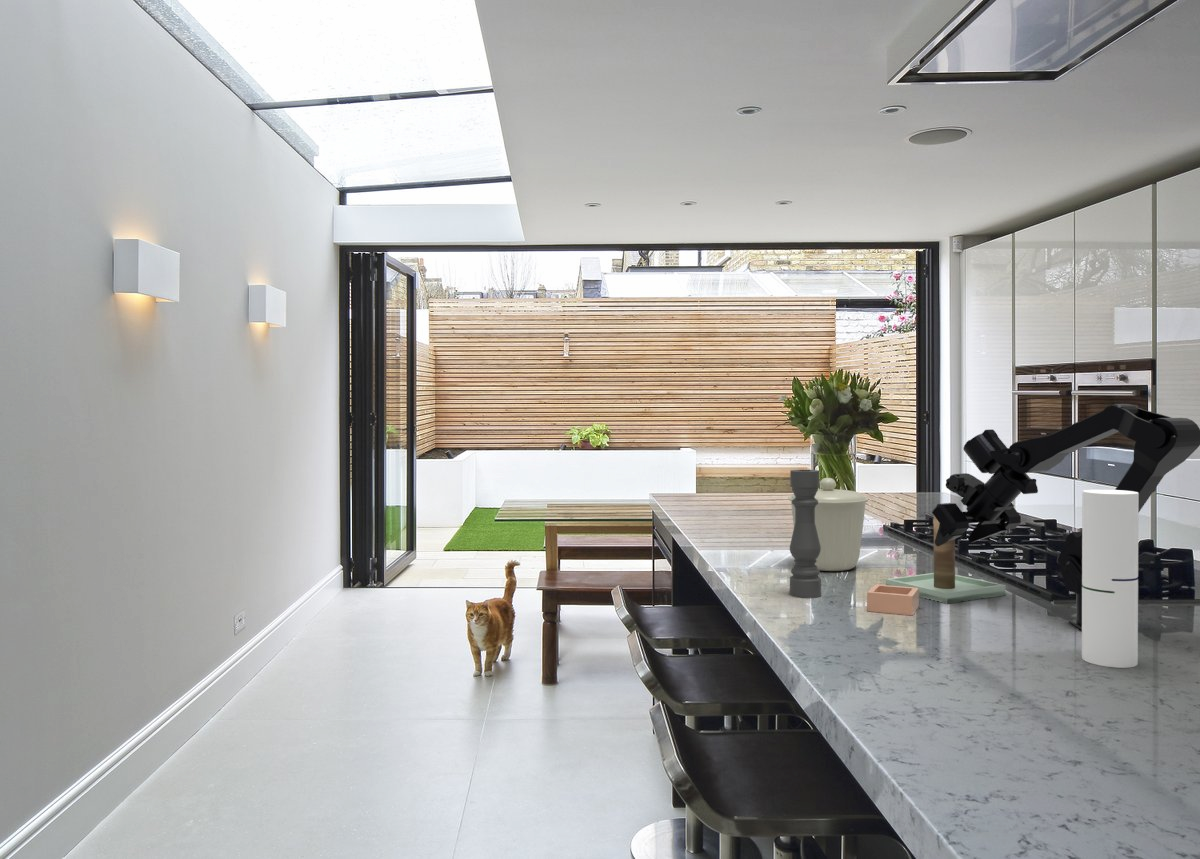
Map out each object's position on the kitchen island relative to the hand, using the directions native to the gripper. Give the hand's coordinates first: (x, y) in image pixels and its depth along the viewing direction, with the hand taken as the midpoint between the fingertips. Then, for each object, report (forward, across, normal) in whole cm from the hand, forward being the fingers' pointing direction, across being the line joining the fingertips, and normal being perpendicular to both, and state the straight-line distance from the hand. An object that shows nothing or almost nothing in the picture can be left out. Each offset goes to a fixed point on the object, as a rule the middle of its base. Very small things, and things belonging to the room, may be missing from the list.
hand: (953, 542), depth 176 cm
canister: (+31, +3, -17) cm, 36 cm away
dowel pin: (+8, 0, +5) cm, 10 cm away
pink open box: (+5, +20, +10) cm, 23 cm away
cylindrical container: (-23, +16, +38) cm, 48 cm away
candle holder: (+17, +26, -2) cm, 31 cm away
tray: (+9, 0, +6) cm, 11 cm away
